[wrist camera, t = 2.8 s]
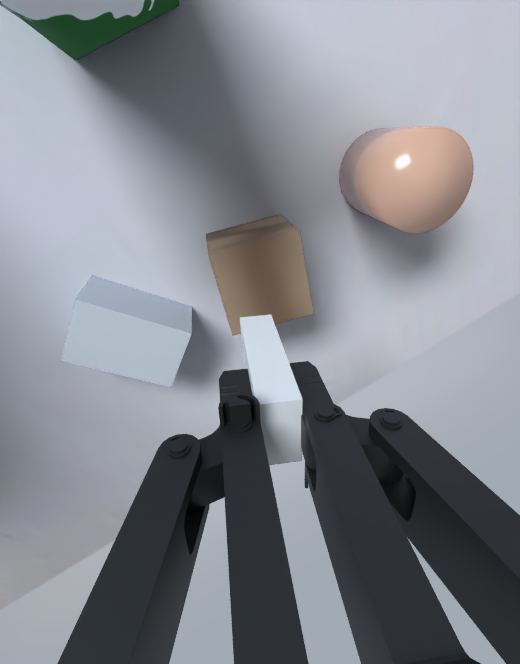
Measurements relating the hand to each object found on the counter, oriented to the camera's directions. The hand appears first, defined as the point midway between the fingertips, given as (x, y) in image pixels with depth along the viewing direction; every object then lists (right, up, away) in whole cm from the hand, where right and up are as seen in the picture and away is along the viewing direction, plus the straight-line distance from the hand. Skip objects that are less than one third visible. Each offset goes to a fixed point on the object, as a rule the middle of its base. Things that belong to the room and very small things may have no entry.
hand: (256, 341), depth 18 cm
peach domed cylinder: (+9, +13, +11) cm, 19 cm away
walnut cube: (0, +6, +12) cm, 14 cm away
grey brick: (-10, +2, +13) cm, 17 cm away
